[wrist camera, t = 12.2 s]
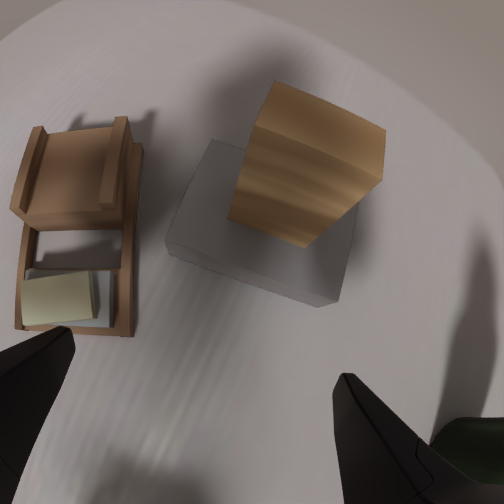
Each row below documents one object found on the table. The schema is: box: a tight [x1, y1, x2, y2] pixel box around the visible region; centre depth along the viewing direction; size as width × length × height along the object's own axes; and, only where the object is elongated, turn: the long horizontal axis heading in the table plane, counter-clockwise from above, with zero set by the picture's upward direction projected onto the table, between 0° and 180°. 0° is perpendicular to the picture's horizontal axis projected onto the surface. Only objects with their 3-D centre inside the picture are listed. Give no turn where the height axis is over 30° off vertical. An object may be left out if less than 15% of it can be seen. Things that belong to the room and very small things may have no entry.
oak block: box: [227, 81, 386, 248], centre depth 13 cm, size 2×5×8 cm, turn 72°
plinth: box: [165, 139, 359, 308], centre depth 19 cm, size 7×10×3 cm
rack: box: [9, 116, 144, 337], centre depth 16 cm, size 13×8×4 cm, turn 4°
